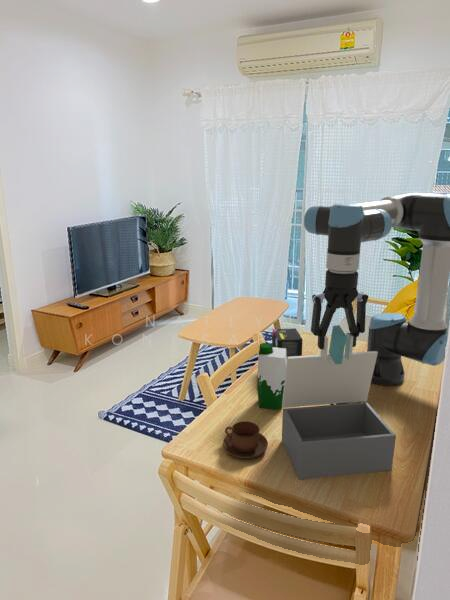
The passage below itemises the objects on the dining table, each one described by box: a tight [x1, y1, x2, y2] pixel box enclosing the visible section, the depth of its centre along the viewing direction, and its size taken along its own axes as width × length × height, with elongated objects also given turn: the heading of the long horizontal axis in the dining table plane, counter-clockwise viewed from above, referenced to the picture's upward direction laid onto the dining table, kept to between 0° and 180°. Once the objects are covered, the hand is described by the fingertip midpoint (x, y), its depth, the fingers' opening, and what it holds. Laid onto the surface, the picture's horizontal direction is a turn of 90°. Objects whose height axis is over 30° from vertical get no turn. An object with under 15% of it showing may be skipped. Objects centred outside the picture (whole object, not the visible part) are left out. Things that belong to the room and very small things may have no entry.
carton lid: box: [282, 325, 378, 409], centre depth 114 cm, size 24×25×5 cm
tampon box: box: [271, 328, 303, 357], centre depth 162 cm, size 11×9×15 cm
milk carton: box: [257, 342, 287, 411], centre depth 138 cm, size 9×9×20 cm
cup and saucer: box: [222, 420, 268, 460], centre depth 118 cm, size 12×12×6 cm
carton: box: [281, 401, 397, 481], centre depth 114 cm, size 24×16×10 cm, turn 98°
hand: (335, 359), depth 111 cm, fingers open, 6 cm apart
